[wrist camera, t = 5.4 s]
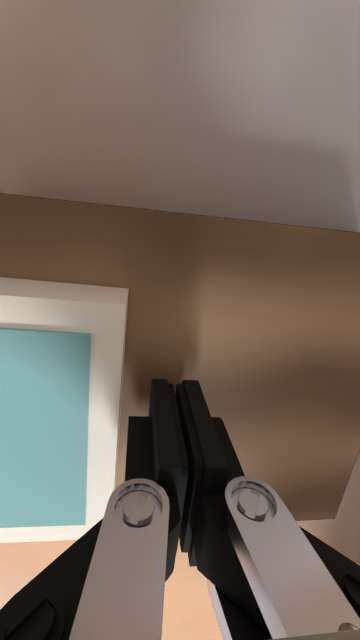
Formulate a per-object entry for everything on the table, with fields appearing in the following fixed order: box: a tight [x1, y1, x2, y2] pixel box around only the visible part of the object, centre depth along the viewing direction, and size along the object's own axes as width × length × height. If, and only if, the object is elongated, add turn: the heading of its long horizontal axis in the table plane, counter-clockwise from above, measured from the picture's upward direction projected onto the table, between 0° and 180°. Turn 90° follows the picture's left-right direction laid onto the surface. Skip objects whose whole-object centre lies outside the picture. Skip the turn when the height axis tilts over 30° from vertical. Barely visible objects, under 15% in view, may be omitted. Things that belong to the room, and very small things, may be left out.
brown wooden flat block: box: [0, 193, 360, 521], centre depth 14 cm, size 14×16×4 cm
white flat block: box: [0, 277, 129, 543], centre depth 10 cm, size 9×6×2 cm, turn 173°
